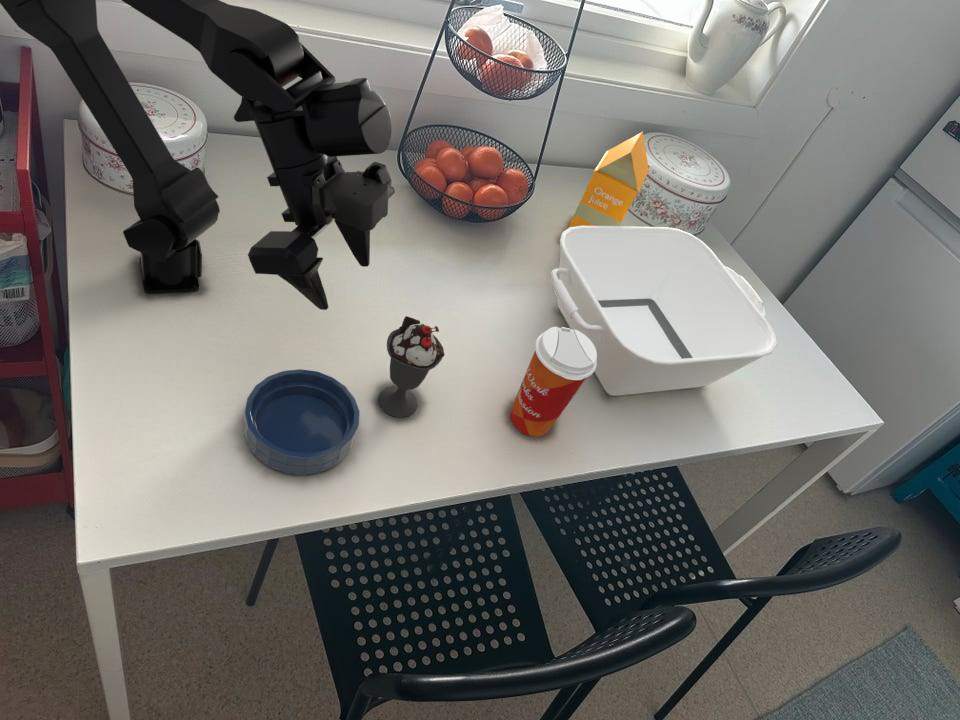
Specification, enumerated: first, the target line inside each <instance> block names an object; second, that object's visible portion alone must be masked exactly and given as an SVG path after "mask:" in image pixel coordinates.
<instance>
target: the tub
mask: <svg viewBox="0 0 960 720" xmlns="http://www.w3.org/2000/svg"><path fill="white" fill-rule="evenodd" d="M550 280H551V287H552V289H553V292H554V294H555V296H556V298H557V309H558V311H559V313H560V316H561V317H562V318H563V320H564V322H565V324H566V325H567V328H570V330H573V329H575V330H578V331H579V332H581V333H583V334H584V335H585V336H587V337H588V338H589V339H590V340H591V342H592V343H593V344H594V346H595V349H596V352H597V359H596V361H597V365H596V369H595V371H594V372H593V373H592V374H593V375H594V376H595V378H596V380H597V381H598V383H599V385H600V387H601V389H602V390H603V392H604V394H605V395H607V396H608V397H612V398H617V397H625V396H635V395H644V394H654V393H663V392H672V391H681V390H691V389H701V388H705V387H707V386H710V385H712V384H713V383H716V382H717V381H719V380H721V379H722V378H723V379H724V378H725V377H727V376H729V375H730V374H733V373H734V372H736V371H739V370H740V369H742V368H744V367H746V366H748V365H750V364H751V363H754V362H755V361H758V360H759V359H761V358H763V357H765V356H769V355H772V354H773V352H774V350H775V349H776V348H777V346H778V343H777V336H776V333H775V331H774V329H773V327H772V326H771V323H769V321H768V320H767V315H768V314H767V311H766V309H765V307H764V302H763V300H762V299H761V297H760V296H759V295H758V293H757V291H755V289H754V288H753V286H752V285H751V284H750V283H749V282H748V281H747V279H745V277H744V276H743V275H739V274H738V273H737V272H735V270H733V269H732V268H730V267H728V266H725V265H724V263H723V262H722V261H721V260H720V258H719V257H718V256H717V255H716V254H715V252H714V251H713V250H712V249H711V248H710V247H709V246H708V245H707V244H706V243H705V242H704V241H703V240H702V239H700V238H699V237H696V236H695V235H693V234H692V233H690V232H688V231H685V230H682V229H679V228H675V227H669V226H638V225H637V226H635V225H634V226H631V225H620V226H576V227H570V228H568V227H567V229H565V230H564V231H562V232H561V234H560V239H559V267H557V268H554V269H552V271H551V272H550Z"/></svg>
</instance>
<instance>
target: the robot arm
mask: <svg viewBox="0 0 960 720" xmlns="http://www.w3.org/2000/svg"><path fill="white" fill-rule="evenodd" d="M121 2H122V3H125V4H126V5H128V6H129V7H131V8H133V10H135V11H137V12H139V13H141V14H142V15H143V16H145V17H146V18H148V19H150V20H151V21H153V22H154V23H156V24H157V25H159V26H161V27H163V28H164V29H166V30H167V31H168V32H171V33H172V34H173V35H175V36H177V37H178V38H179V39H181V40H183V41H184V42H186V43H188V44H189V45H191V46H192V47H193V48H194V49H195V50H196V51H198V52H199V54H200V55H201V57H202V59H203V60H204V62H205V65H206V66H207V68H208V70H209V71H210V72H211V73H212V74H213V75H215V77H217V78H218V79H219V80H221V81H222V82H223V83H224V84H225V85H226V86H228V87H229V88H230V89H231V90H233V91H234V92H235V93H236V94H238V95H239V96H240V97H241V99H240V100H241V101H240V103H239V107H238V108H237V109H236V111H235V113H234V115H233V119H234V121H235V122H236V123H244V122H254V124H255V127H256V129H257V131H258V134H259V137H260V140H261V142H262V144H263V145H262V146H263V147H264V150H265V152H266V155H267V158H268V160H269V163H270V165H271V168H272V170H273V172H272V173H271V174H269V175H268V176H266V178H267V181H268V183H269V186H270V187H279V188H280V191H281V194H282V196H283V199H284V200H285V204H286V206H287V208H286V209H285V210H284V211H283V212H281V213H280V214H281V216H282V220H283V222H284V223H294V224H295V226H296V227H294V229H292V230H291V231H289V230H288V231H287V230H285V231H284V230H270V231H269V232H267V234H265V235H263V236H262V238H260V239H259V240H258V241H257V242H256V243H254V244H253V245H252V246H251V247H250V249H249V251H248V254H247V258H248V260H249V262H250V264H251V267H252V269H253V271H254V273H255V275H256V274H257V275H274V276H275V275H276V276H278V277H279V278H281V279H282V280H284V281H285V282H286V283H288V284H289V285H291V287H293V288H294V289H296V290H297V291H298V292H299V293H300V294H301V295H303V297H304V298H306V299H307V300H308V301H309V302H310V303H312V304H313V305H314V306H315V307H316V308H317V309H318V310H321V311H327V310H328V309H329V302H328V297H327V294H326V292H325V288H324V285H323V283H322V279H321V276H320V273H319V267H320V266H321V264H322V262H323V260H324V257H319V256H318V254H319V253H318V252H319V246H318V244H317V242H316V240H315V238H317V236H319V235H320V234H321V233H322V232H324V230H325V229H327V227H329V226H330V225H331V224H332V223H333V222H334V223H335V225H336V226H337V228H338V230H339V232H340V234H341V236H342V237H343V239H344V241H345V243H346V245H347V246H348V248H349V250H350V251H351V254H352V255H353V257H354V259H355V260H356V261H357V263H358V264H359V266H360V267H363V268H364V267H369V266H370V265H371V264H370V260H371V257H370V256H371V231H372V230H374V229H375V228H376V226H377V225H378V223H379V222H380V221H381V220H382V219H384V218H386V217H387V216H388V214H389V199H390V198H391V197H392V196H393V195H394V194H395V193H396V189H395V187H394V186H393V185H392V182H393V181H392V177H391V175H390V172H389V170H388V167H387V165H386V164H383V163H381V162H378V161H373V162H371V164H370V165H368V166H367V167H366V168H365V170H364V171H360V170H357V171H345V169H344V167H343V164H342V161H341V160H340V159H338V157H350V156H365V155H379V154H383V153H385V152H386V151H387V149H388V147H389V146H390V143H391V138H392V131H393V130H392V128H393V126H392V118H391V112H390V109H389V105H388V104H387V105H386V103H385V101H384V99H383V98H382V96H381V95H380V94H379V93H378V92H376V91H375V90H372V89H371V86H370V83H369V79H368V78H366V77H359V78H358V77H357V78H354V79H351V80H349V81H345V82H344V81H343V82H336V77H335V75H333V74H332V73H331V72H330V71H329V69H328V68H326V66H324V64H322V62H321V61H319V60H318V59H317V58H316V57H315V56H314V55H313V53H311V51H310V50H309V49H307V48H306V47H305V45H303V43H301V42H300V36H299V34H297V32H296V31H295V29H294V28H292V27H291V26H290V25H288V24H287V23H286V22H284V21H282V20H280V19H277V18H275V17H273V16H271V15H268V14H266V13H263V12H261V11H260V10H257V9H253V8H248V7H244V6H238V5H232V4H229V3H227V2H225V1H222V0H121ZM0 6H2V8H3V9H4V10H5V12H6V13H7V14H8V16H9V17H10V18H11V20H13V22H14V23H15V24H16V26H17V27H18V28H19V29H21V30H22V31H24V32H25V33H27V34H28V35H30V36H31V37H33V38H34V39H35V40H37V41H39V42H40V43H42V45H44V46H46V47H48V48H49V49H50V50H51V52H52V53H53V55H54V56H55V58H56V59H57V61H58V62H59V64H60V66H61V67H62V68H63V70H64V72H65V74H66V75H67V76H68V78H69V80H70V81H71V83H72V85H73V86H74V88H75V90H76V91H77V92H78V94H79V96H80V97H81V99H82V101H83V102H84V103H85V105H86V107H87V108H88V110H89V112H90V113H91V115H92V117H93V118H94V120H95V121H96V123H97V124H98V126H99V127H100V129H101V130H102V132H103V134H104V135H105V137H106V139H107V140H108V142H109V143H110V145H111V147H112V148H113V150H114V151H115V153H116V155H117V156H118V157H119V159H120V161H121V162H122V164H123V166H124V167H125V168H126V171H127V172H128V174H129V175H130V177H131V179H132V191H133V206H134V210H135V212H136V213H137V215H138V217H139V219H138V220H137V221H136V222H134V223H132V224H131V225H129V226H128V227H127V228H125V229H124V230H123V231H122V234H123V237H124V238H125V241H126V243H127V246H128V247H129V248H131V249H132V250H135V251H136V252H138V253H140V256H139V258H138V259H139V268H140V275H141V283H142V289H143V292H144V293H146V294H160V293H182V292H197V291H199V290H200V282H199V281H200V280H199V278H202V276H203V252H202V247H201V242H200V240H199V239H197V238H199V237H200V236H201V235H203V234H204V233H205V232H207V230H209V229H210V228H211V227H213V226H214V225H215V224H216V223H217V222H218V220H219V214H220V212H221V210H220V206H219V204H218V201H217V199H219V195H218V194H217V193H216V192H215V191H214V190H213V188H212V186H211V185H210V184H209V182H208V180H207V177H206V174H205V172H204V171H203V170H202V169H200V167H195V168H192V169H190V168H188V167H186V165H183V164H182V163H180V162H179V161H177V160H176V159H175V158H174V157H173V155H172V153H171V152H170V150H169V149H168V147H167V145H166V144H165V142H164V140H163V139H162V137H161V135H160V133H159V132H158V130H157V128H156V126H155V125H154V123H153V121H152V120H151V118H150V116H149V114H148V113H147V111H146V109H145V108H144V106H143V103H141V101H140V99H139V97H138V96H137V94H136V93H135V90H134V89H133V88H132V86H131V84H130V82H129V80H128V79H127V77H126V75H125V74H124V72H123V70H122V68H121V67H120V66H119V63H118V62H117V60H116V59H115V57H114V55H113V54H112V51H111V50H110V48H109V47H108V44H107V43H106V41H105V40H104V38H103V36H102V34H101V33H100V30H99V26H98V10H97V9H98V8H97V0H0ZM297 78H300V79H299V80H298V81H297V82H294V83H293V84H292V85H290V86H288V84H290V83H291V82H293V81H294V80H296V79H297ZM286 85H287V86H288V87H287V88H286V89H285V88H284V87H285V86H286Z"/></svg>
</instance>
